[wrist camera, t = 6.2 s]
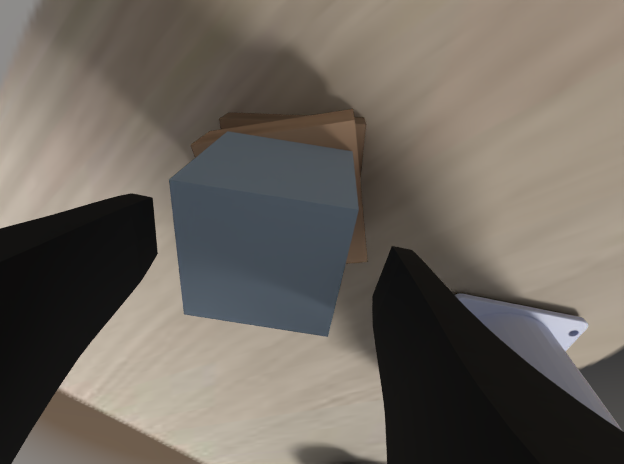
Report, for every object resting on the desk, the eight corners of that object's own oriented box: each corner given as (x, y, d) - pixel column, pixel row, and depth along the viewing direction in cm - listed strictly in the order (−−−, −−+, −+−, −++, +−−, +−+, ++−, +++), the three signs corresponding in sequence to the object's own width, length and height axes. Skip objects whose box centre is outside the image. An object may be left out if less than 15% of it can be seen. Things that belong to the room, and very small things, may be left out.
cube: (331, 252, 14) (327, 336, 10) (228, 236, 14) (183, 314, 10) (352, 151, 11) (358, 209, 7) (227, 131, 11) (168, 179, 7)
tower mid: (364, 237, 15) (367, 261, 14) (247, 248, 16) (236, 272, 15) (352, 108, 12) (354, 120, 11) (209, 131, 13) (190, 145, 12)
